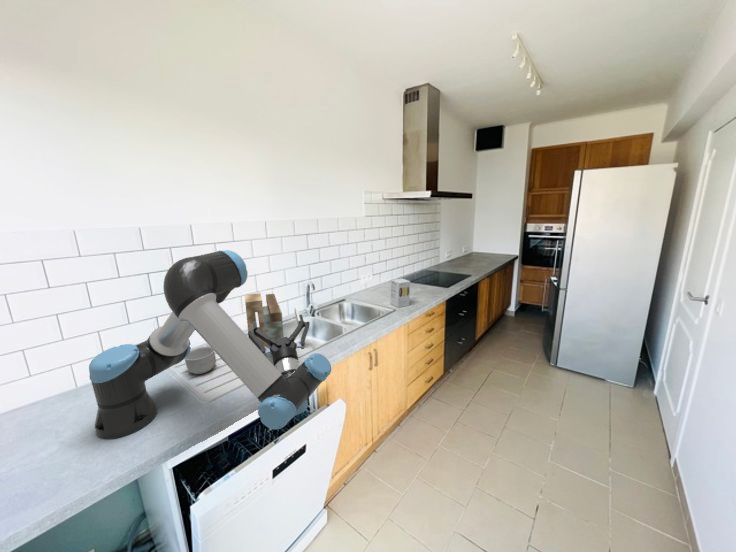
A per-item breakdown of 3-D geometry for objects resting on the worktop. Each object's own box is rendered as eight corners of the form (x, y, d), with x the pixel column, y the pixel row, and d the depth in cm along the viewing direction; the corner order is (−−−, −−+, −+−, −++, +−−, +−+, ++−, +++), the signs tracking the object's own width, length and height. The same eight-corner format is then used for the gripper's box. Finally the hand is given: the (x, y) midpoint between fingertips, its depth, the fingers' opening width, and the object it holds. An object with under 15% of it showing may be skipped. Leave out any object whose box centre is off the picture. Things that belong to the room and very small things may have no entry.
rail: (271, 322, 109) (270, 313, 108) (266, 302, 130) (265, 294, 130) (281, 321, 110) (280, 312, 109) (274, 301, 132) (274, 293, 131)
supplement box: (397, 308, 193) (398, 282, 189) (389, 303, 201) (390, 279, 196) (409, 305, 197) (410, 281, 193) (401, 301, 205) (402, 277, 201)
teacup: (204, 379, 115) (201, 360, 113) (180, 375, 117) (176, 357, 115) (227, 360, 129) (225, 343, 127) (205, 358, 131) (203, 341, 129)
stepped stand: (252, 373, 119) (245, 302, 112) (251, 361, 128) (244, 294, 121) (285, 366, 124) (280, 298, 117) (282, 355, 133) (277, 291, 126)
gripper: (244, 378, 91) (239, 323, 104) (323, 361, 100) (310, 313, 114) (242, 365, 86) (237, 309, 99) (326, 349, 95) (311, 300, 109)
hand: (276, 311), depth 107 cm, fingers open, 13 cm apart
